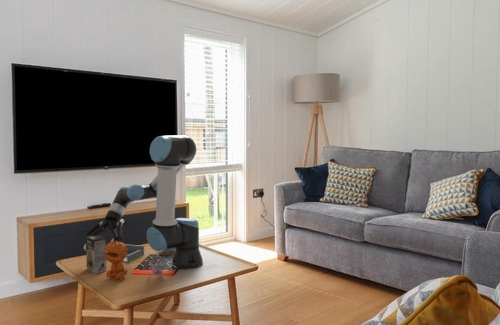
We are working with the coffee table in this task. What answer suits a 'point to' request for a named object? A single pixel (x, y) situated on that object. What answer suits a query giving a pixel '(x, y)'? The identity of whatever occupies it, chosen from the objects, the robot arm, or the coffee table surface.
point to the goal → (133, 252)
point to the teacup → (170, 250)
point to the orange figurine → (116, 260)
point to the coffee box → (96, 253)
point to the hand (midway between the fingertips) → (96, 250)
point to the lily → (155, 270)
